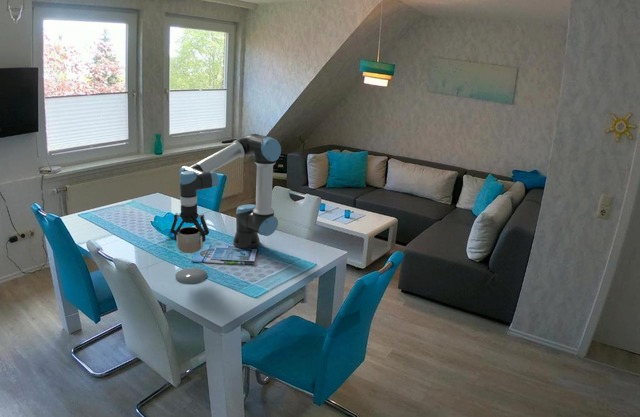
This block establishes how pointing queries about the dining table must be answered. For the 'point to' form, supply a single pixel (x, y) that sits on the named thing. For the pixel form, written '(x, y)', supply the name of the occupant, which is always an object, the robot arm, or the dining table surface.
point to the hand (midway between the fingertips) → (190, 247)
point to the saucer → (191, 275)
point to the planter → (189, 240)
